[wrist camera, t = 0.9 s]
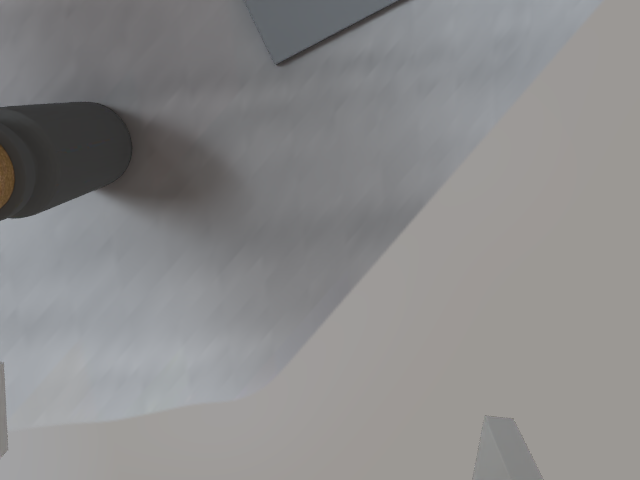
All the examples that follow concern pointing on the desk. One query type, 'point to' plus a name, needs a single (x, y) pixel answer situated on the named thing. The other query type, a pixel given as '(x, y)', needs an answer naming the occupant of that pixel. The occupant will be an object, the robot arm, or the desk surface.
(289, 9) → the stand
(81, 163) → the bottle
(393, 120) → the desk surface
